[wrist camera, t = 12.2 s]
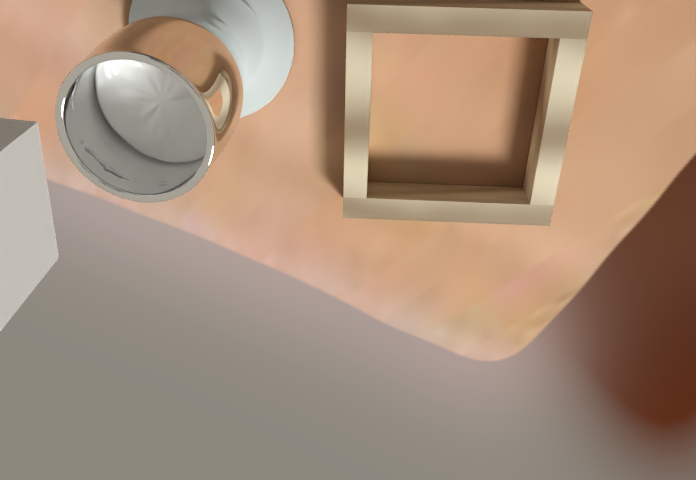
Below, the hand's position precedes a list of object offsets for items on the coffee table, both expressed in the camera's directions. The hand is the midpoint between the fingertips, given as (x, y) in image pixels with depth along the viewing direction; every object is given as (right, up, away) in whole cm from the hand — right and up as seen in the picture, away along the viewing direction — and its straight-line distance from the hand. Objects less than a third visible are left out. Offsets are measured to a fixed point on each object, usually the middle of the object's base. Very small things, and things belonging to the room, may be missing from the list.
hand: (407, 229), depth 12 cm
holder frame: (+6, +8, +30) cm, 32 cm away
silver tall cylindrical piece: (-9, +12, +28) cm, 32 cm away
